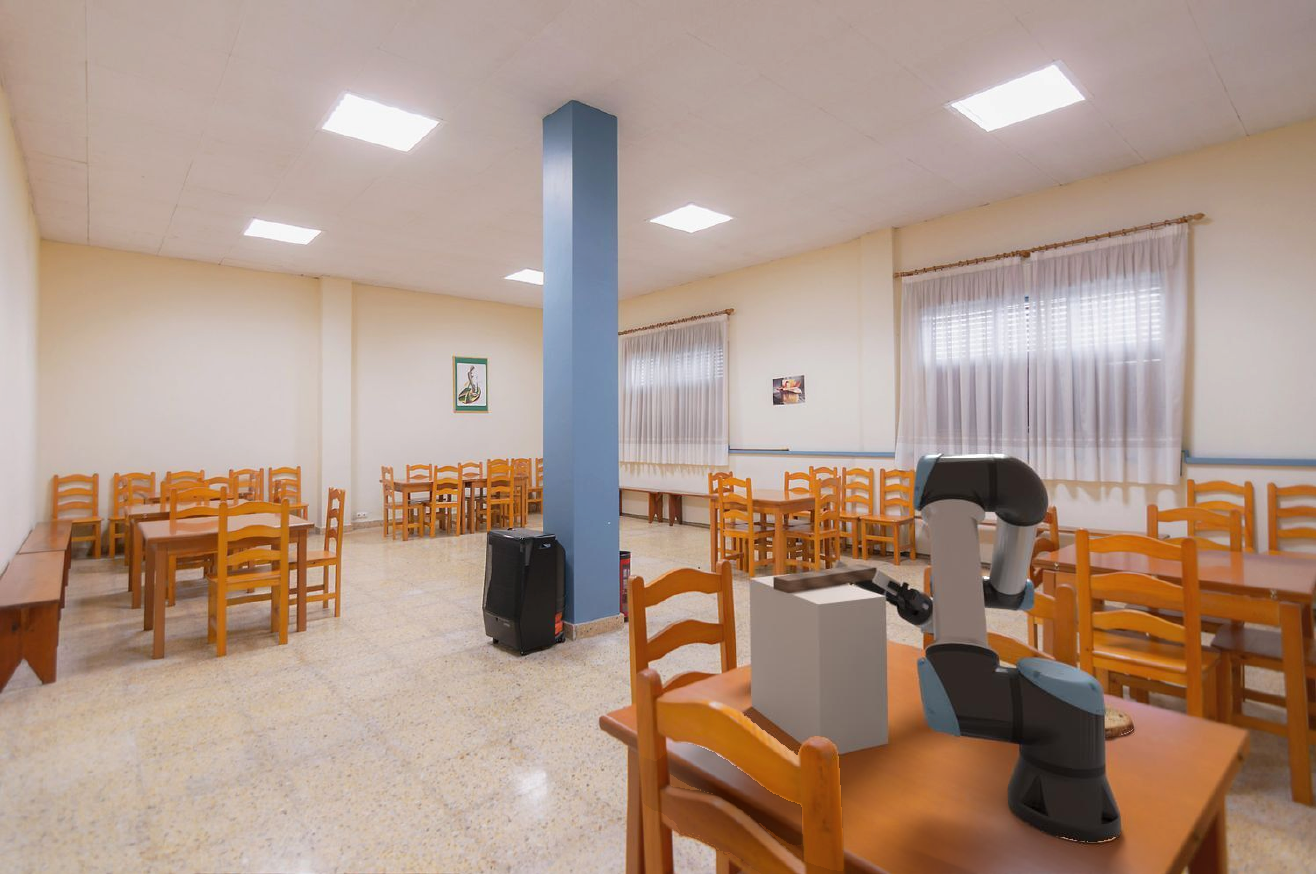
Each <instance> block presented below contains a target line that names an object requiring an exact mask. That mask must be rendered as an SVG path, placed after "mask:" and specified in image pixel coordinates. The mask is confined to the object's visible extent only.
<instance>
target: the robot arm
mask: <svg viewBox="0 0 1316 874" xmlns="http://www.w3.org/2000/svg"><path fill="white" fill-rule="evenodd" d="M912 500H913V501H912V502H913V503H912V506H913V509H914V510H915V511H918V512H920V517H921V520H923V522H925V523H926V524H928V525H929V543H930V544H929V546H930V548H929V549H930V571H929V591H930V592H929V593H930V595H927V594H926V593H925V592H923V591H921V590H919V589H917V588H911V587H910V589H909V586H910V583H908V582H905V581H903V582H902V584H901V582H899V581H897V580H895V578H892V577H890V576H889V575H888V574H886V573H884V572H883V571H880V570H878V569H877V571H876V574H875V576H874V578H873V579H872V580H866V581H860V582H854V583H848V585H851V586H855V587H858V588H861V589H864V590H867V591H871V592H874V593H877V594H880V595H884V596H886V602H888V603H889V604H890V605H892V606H894V607H896V611H897V614H898V616H899V617H900V618H901V619H902V620H904V621H906V622H907V623H909V624H911V625H913V626H915V627H916V628H918V629H920V633H921V634H925V633H926V634H928V635H931V636H932V637H933V641H931V642H930V643H929V644H928V645H927V646H926V647H925V650H924V651H925V656H924V657H920V658H918V659H917V660H916V667H917V675H918V677H917V678H918V684H919V685H918V686H919V691H920V699H921V704H922V709H923V715H924V718H925V721H926V724H927V726H928V728H930V729H931V730H933V731H934V732H936V733H942V734H945V735H952V736H954V737H956V738H961V737H962V738H963V737H964V738H969V739H970V738H973V739H979V740H984V741H985V740H986V741H992V742H994V741H995V742H1001V743H1004V744H1005V743H1006V744H1014V745H1018V750H1019V751H1018V759H1017V761H1016V763H1015V766H1014V769H1013V771H1012V774H1011V778H1010V780H1009V783H1008V785H1007V804H1008V807H1009V808H1010V810H1011V811H1012V813H1014V814H1015V815H1016V817H1018V818H1019V819H1020V820H1021V819H1022V820H1021V821H1023V822H1024V823H1026V824H1027V823H1028V824H1027V825H1029V826H1030V825H1031V827H1032V826H1033V828H1034V829H1036V830H1038V831H1041V832H1042V831H1043V833H1045V834H1047V835H1051V836H1053V837H1056V836H1058V837H1057V838H1059V837H1065V838H1068V839H1073V840H1077V841H1085V842H1087V841H1088V842H1098V841H1104V840H1108V839H1112V838H1113V837H1117V836H1118V835H1119V834H1120V832H1121V833H1122V818H1121V817H1122V815H1121V811H1120V809H1119V806H1118V804H1117V801H1116V798H1115V796H1114V793H1113V790H1112V788H1111V785H1110V783H1109V780H1108V777H1107V772H1106V771H1107V770H1106V769H1107V767H1106V764H1107V763H1106V761H1107V760H1106V738H1105V715H1106V709H1105V706H1106V705H1105V704H1106V703H1105V698H1104V697H1105V695H1104V689H1103V687H1102V684H1101V683H1100V682H1099V680H1098V679H1096V678H1095V677H1094V676H1093V675H1091V674H1089V673H1088V672H1087V671H1084V670H1082V669H1080V668H1078V667H1076V666H1072V665H1070V664H1067V663H1064V662H1060V661H1056V660H1053V659H1048V658H1045V657H1043V658H1041V657H1035V656H1030V657H1026V656H1025V657H1021V658H1018V660H1017V663H1015V666H1016V667H1011V666H1003V665H1001V661H1000V655H999V653H998V651H996V650H995V649H994V648H993V647H992V646H990V645H989V642H988V641H989V640H988V630H987V628H988V627H987V619H986V609H995V610H996V609H997V610H1006V611H1007V610H1009V611H1013V612H1017V611H1031V610H1032V609H1034V606H1035V599H1036V598H1035V597H1036V595H1035V594H1036V593H1035V586H1034V582H1033V580H1031V579H1030V578H1028V576H1029V570H1030V566H1031V561H1032V558H1033V557H1032V556H1033V552H1034V547H1035V543H1036V537H1037V533H1038V528H1039V524H1041V523H1042V522H1043V521H1044V520H1045V518H1046V517H1047V515H1048V514H1047V513H1048V508H1049V495H1048V492H1047V488H1046V486H1045V484H1044V482H1043V480H1042V479H1041V477H1040V476H1039V474H1038V473H1036V471H1034V469H1033V468H1032V467H1031V466H1029V465H1028V464H1027V463H1026V462H1024V461H1022V460H1021V459H1019V458H1018V457H1017V458H1016V457H1014V456H1012V455H1009V454H1005V453H990V454H989V453H987V454H986V453H985V454H984V453H983V454H982V453H978V454H975V453H974V454H973V453H972V454H969V453H968V454H944V453H937V454H936V453H935V454H925V455H922V456H920V458H919V459H918V461H917V465H916V470H915V477H914V487H913V497H912ZM986 513H994V514H995V516H996V524H995V530H994V540H993V545H992V546H993V547H992V554H991V562H990V570H989V575H983V573H982V571H983V569H982V561H981V550H980V548H981V547H980V538H979V527H978V525H980V524H981V523H983V521H985V519H986ZM846 566H849V565H848V564H846V563H845V562H842V561H841V560H840V559H836V560H835V563H834V565H833V567H832V568H839V567H846ZM1120 835H1121V834H1120ZM1120 835H1119V836H1120ZM1117 838H1118V837H1117Z"/></svg>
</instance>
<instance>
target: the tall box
mask: <svg viewBox="0 0 1316 874" xmlns="http://www.w3.org/2000/svg"><path fill="white" fill-rule="evenodd" d="M791 574H792V573H789V574H786V575H791ZM784 575H785V574H777V575H769V576H759V577H749V614H750V615H749V620H750V621H749V625H750V627H749V629H750V630H749V632H750V633H749V634H750V638H749V639H750V700H751V702H750V703H751V705H750V706H751V708H752V709H754V710H755V711H757V712H758V713H759V714H761V715H762V716H763V717H764V718H766V719H767V720H769V721H770V723H771V722H772V723H773V724H774V725H775V726H777V727H778V728H780V730H782V731H783V732H785V733H786V734H787V735H788V736H790V737H791V738H792V739H794V740H795V741H797V742H798V743H799V744H800V745H802V743H803V742H805V741H806V740H808V739H809V738H810V737H814V736H820V737H825V738H828V739H829V740H830V741H831V742H832V743H833V744H835V745H836V747H837V751H838V753H839V755H838V756H840V755H843V754H848V753H852V752H856V751H857V752H858V751H860V750H864V749H870V748H873V747H878V746H882V745H888V744H889V709H888V707H889V706H888V705H889V704H888V703H889V701H888V700H889V699H888V698H889V696H888V695H889V694H888V693H889V692H888V645H887V644H888V642H887V640H888V638H887V636H888V633H887V601H886V596H884V595H880V594H877V593H874V592H871V591H867V590H864V589H862V588H860V587H858V586H856V585H852V586H851V585H849V583H848V584H842V585H836V586H829V587H823V588H817V589H811V590H805V591H799V592H793V593H786V592H782V591H779V590H775V589H774V586H773V577H777V576H784Z"/></svg>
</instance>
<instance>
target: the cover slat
mask: <svg viewBox="0 0 1316 874" xmlns="http://www.w3.org/2000/svg"><path fill="white" fill-rule="evenodd" d="M877 570H878V568H877V567H876V566H870V565H866V564H854V565H848V566H846V567H839V568H833V567H832V568H828V569H819V570H818V569H817V570H813V571H812V570H811V571H806V572H799V573H790V574H791V575H787V574H783V575H784V576H777V575H776V576H777V577H773V586H774V589H775V590H779V591H782V592H786V593H793V592H799V591H805V590H811V589H817V588H823V587H829V586H836V585H842V584H848V585H849V584H850V583H854V582H860V581H866V580H873V578H874V576H875V574H876V571H877Z"/></svg>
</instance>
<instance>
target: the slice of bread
mask: <svg viewBox="0 0 1316 874" xmlns="http://www.w3.org/2000/svg"><path fill="white" fill-rule="evenodd" d="M1105 709H1106V715H1105V737H1107V738H1111V737H1110V736H1118V735H1121V734H1124V733H1127V732H1129V731H1131V730H1132V729H1133V728H1134V729H1135V725H1134V723H1133V719H1132V718H1131V717H1130V715H1129V714H1128V713H1126V712H1124V711H1123V710H1121V709H1118V708H1116V707H1114V706H1111V705H1110V706H1108V705H1105ZM1134 729H1133V730H1134ZM1118 737H1119V736H1118Z"/></svg>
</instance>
